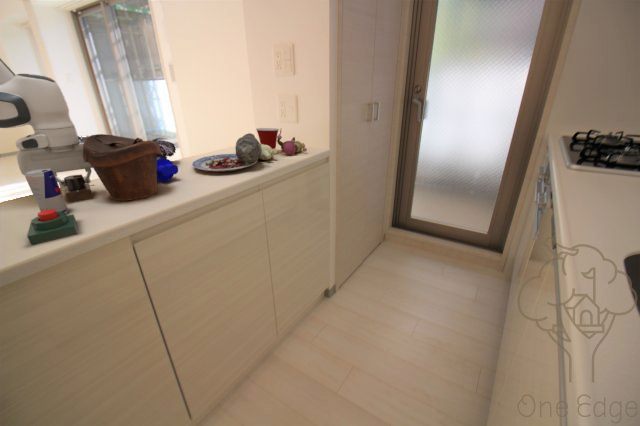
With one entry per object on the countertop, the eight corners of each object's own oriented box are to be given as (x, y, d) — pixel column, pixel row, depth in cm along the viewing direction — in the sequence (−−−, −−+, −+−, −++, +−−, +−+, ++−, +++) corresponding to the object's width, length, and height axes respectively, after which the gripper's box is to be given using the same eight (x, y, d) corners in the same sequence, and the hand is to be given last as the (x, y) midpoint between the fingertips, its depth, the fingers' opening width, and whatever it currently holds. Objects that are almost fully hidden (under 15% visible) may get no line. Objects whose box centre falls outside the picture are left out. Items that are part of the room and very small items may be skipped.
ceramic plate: (270, 162, 125) (269, 155, 124) (227, 179, 104) (226, 171, 103) (225, 156, 136) (224, 149, 134) (178, 170, 115) (177, 162, 114)
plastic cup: (284, 151, 143) (283, 127, 138) (272, 156, 134) (271, 130, 129) (266, 150, 147) (264, 125, 142) (253, 154, 138) (251, 128, 133)
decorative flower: (126, 156, 112) (143, 140, 124) (148, 180, 119) (162, 162, 131) (156, 143, 109) (171, 127, 121) (177, 167, 116) (188, 150, 128)
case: (171, 197, 88) (158, 137, 80) (92, 209, 80) (68, 144, 72) (170, 180, 102) (158, 128, 95) (102, 189, 94) (84, 133, 87)
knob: (68, 191, 85) (63, 179, 83) (68, 187, 88) (63, 175, 86) (86, 188, 87) (82, 176, 85) (85, 184, 90) (81, 172, 89)
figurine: (310, 125, 140) (294, 127, 127) (311, 153, 144) (295, 157, 132) (291, 125, 144) (274, 126, 132) (292, 151, 149) (275, 155, 136)
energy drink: (73, 212, 79) (56, 169, 74) (49, 220, 74) (30, 175, 69) (62, 208, 81) (45, 167, 76) (38, 216, 76) (19, 172, 71)
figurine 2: (296, 148, 148) (295, 136, 145) (290, 153, 142) (288, 141, 139) (282, 148, 151) (281, 136, 148) (276, 153, 144) (274, 140, 141)
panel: (62, 205, 83) (58, 194, 82) (62, 196, 89) (59, 186, 88) (98, 198, 88) (95, 188, 87) (96, 190, 94) (93, 181, 93)
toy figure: (153, 157, 94) (127, 153, 101) (160, 185, 97) (134, 180, 104) (178, 153, 101) (152, 150, 108) (183, 179, 105) (158, 175, 112)
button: (40, 223, 65) (36, 216, 64) (40, 218, 67) (37, 211, 66) (58, 219, 66) (55, 212, 66) (58, 214, 69) (55, 208, 68)
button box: (31, 245, 63) (23, 228, 61) (34, 231, 69) (27, 216, 67) (77, 233, 68) (71, 218, 66) (76, 222, 73) (70, 207, 72)
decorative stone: (238, 124, 123) (262, 125, 125) (240, 146, 129) (263, 147, 130) (232, 143, 106) (260, 144, 107) (235, 167, 111) (261, 168, 113)
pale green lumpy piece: (283, 160, 131) (261, 157, 139) (284, 145, 129) (261, 142, 138) (261, 161, 120) (238, 158, 129) (261, 144, 119) (238, 142, 127)
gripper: (102, 132, 89) (115, 175, 95) (10, 140, 78) (31, 189, 83) (104, 135, 85) (117, 180, 91) (6, 144, 73) (29, 195, 79)
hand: (75, 184), depth 87 cm, fingers closed on knob, 4 cm apart
